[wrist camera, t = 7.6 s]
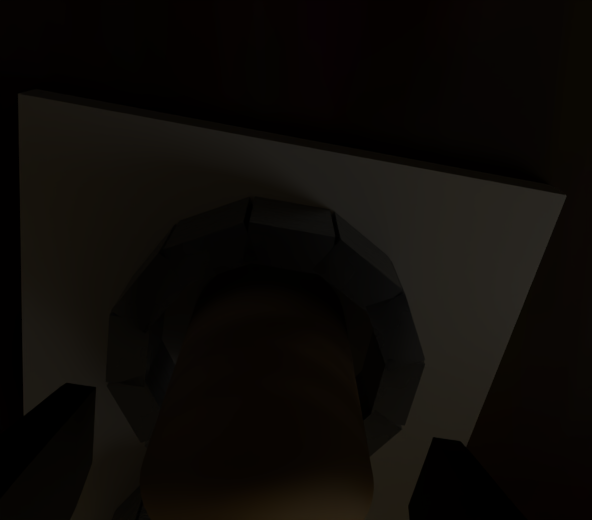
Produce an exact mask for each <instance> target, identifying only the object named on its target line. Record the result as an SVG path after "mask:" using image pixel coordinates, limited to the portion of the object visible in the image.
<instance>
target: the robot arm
mask: <svg viewBox="0 0 592 520" xmlns="http://www.w3.org/2000/svg"><path fill="white" fill-rule="evenodd" d="M95 400H96V387H92V386H85V385H79V384H72V383H65V384H64V385H62V386H60V387H59V388H58V389H57V390H55V391H54V392H53V393H52V394H50V395H49V396H48V397H47V398H46V399H44V400H43V401H42V402H41V403H39V404H38V405H37V406H36V407H34V408H33V409H32V410H31V411H29V412H28V413H27V414H26V415H24V416H23V417H22V418H21V419H19V420H18V421H17V422H15V423H14V424H13V425H12V426H10V427H9V428H8V429H6V430H5V431H4V432H2V433H1V434H0V520H70V519H71V517H72V515H73V513H74V511H75V508H76V506H77V503H78V500H79V498H80V495H81V493H82V490H83V487H84V485H85V482H86V479H87V476H88V474H89V471H90V468H91V465H92V461H93V441H94V421H95ZM408 510H409V520H527V519H526V518H525V517H524V515H523V514H522V513H521V512H520V511H519V510H518V509H517V507H516V506H515V505H514V504H513V503H512V502H511V500H510V499H509V498H508V497H507V496H506V494H505V493H504V492H503V491H502V490H501V488H500V487H499V486H498V485H497V484H496V482H495V481H494V480H493V479H492V478H491V476H490V475H489V474H488V473H487V472H486V470H485V469H484V468H483V467H482V466H481V464H480V463H479V462H478V461H477V460H476V458H475V457H474V456H473V455H472V454H471V453H470V451H469V450H468V449H467V448H466V447H465V446H464V444H463V443H462V442H461V441H457V440H450V439H443V438H436V437H433V439H432V442H431V445H430V447H429V450H428V453H427V456H426V458H425V461H424V464H423V467H422V469H421V472H420V475H419V477H418V480H417V483H416V486H415V488H414V491H413V494H412V497H411V499H410V502H409V505H408Z"/></svg>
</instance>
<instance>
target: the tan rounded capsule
mask: <svg viewBox="0 0 592 520" xmlns="http://www.w3.org/2000/svg"><path fill="white" fill-rule="evenodd" d="M373 491H374V481H373V473H372V467H371V462H370V456H369V450H368V445H367V439H366V434H365V428H364V423H363V417H362V411H361V406H360V400H359V395H358V389H357V384H356V378H355V373H354V367H353V361H352V356H351V350H350V345H349V339H348V334H347V328H346V322H345V317H344V312H343V308H342V305H341V302H340V300H339V298H338V296H337V294H336V293H335V291H334V290H333V288H332V287H331V286H330V284H329V283H328V282H327V281H326V280H325V279H324V278H322V277H321V276H320V275H319V274H313V273H307V272H301V271H295V270H289V269H283V268H277V267H271V266H265V265H259V264H253V263H250V264H247V265H244V266H241V267H238V268H235V269H232V270H229V271H226V272H223V273H220V274H217V275H216V276H215V277H214V278H213V279H211V280H210V282H209V283H208V284H207V285H206V286H205V287H204V289H203V291H202V292H201V294H200V295H199V298H198V300H197V302H196V305H195V308H194V311H193V314H192V317H191V320H190V323H189V326H188V329H187V332H186V335H185V338H184V341H183V343H182V346H181V349H180V352H179V355H178V358H177V361H176V364H175V367H174V370H173V373H172V376H171V379H170V382H169V385H168V388H167V391H166V394H165V397H164V400H163V403H162V406H161V409H160V412H159V415H158V418H157V421H156V424H155V427H154V430H153V433H152V436H151V439H150V442H149V444H148V447H147V450H146V453H145V456H144V459H143V463H142V467H141V471H140V493H141V497H142V501H143V505H144V507H145V509H146V511H147V514H148V516H149V517H150V519H151V520H364V519H365V517H366V515H367V514H368V512H369V509H370V506H371V502H372V498H373Z"/></svg>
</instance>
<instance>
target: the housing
mask: <svg viewBox="0 0 592 520" xmlns="http://www.w3.org/2000/svg"><path fill="white" fill-rule="evenodd" d="M18 121H19V179H20V237H21V295H22V353H23V411H24V415H26V414H27V413H28V412H29V411H31V410H32V409H33V408H34V407H36V406H37V405H38V404H39V403H41V402H42V401H43V400H44V399H46V398H47V397H48V396H49V395H50V394H52V393H53V392H54V391H55V390H57V389H58V388H59V387H60V386H62V385H64V384H65V383H72V384H79V385H85V386H92V387H96V400H95V421H94V441H93V461H92V465H91V468H90V471H89V474H88V476H87V479H86V482H85V485H84V487H83V490H82V493H81V495H80V498H79V500H78V503H77V506H76V508H75V511H74V513H73V515H72V517H71V519H70V520H151V519H150V517H149V516H148V514H147V511H146V509H145V507H144V505H143V501H142V497H141V493H140V471H141V467H142V463H143V459H144V456H145V453H146V450H147V447H148V444H149V442H150V439H151V436H152V433H153V430H154V427H155V424H156V421H157V418H158V415H159V412H160V409H161V406H162V403H163V400H164V397H165V394H166V391H167V388H168V385H169V382H170V379H171V376H172V373H173V370H174V367H175V364H176V361H177V358H178V355H179V352H180V349H181V346H182V343H183V341H184V338H185V335H186V332H187V329H188V326H189V323H190V320H191V317H192V314H193V311H194V308H195V305H196V302H197V300H198V298H199V295H200V294H201V292H202V291H203V289H204V287H205V286H206V285H207V284H208V283H209V282H210V280H211V279H213V278H214V277H215V276H216V275H217V274H220V273H223V272H226V271H229V270H232V269H235V268H238V267H241V266H244V265H247V264H250V263H253V264H259V265H265V266H271V267H277V268H283V269H289V270H295V271H301V272H307V273H313V274H319V275H320V276H321V277H322V278H324V279H325V280H326V281H327V282H328V283H329V284H330V286H331V287H332V288H333V290H334V291H335V293H336V294H337V296H338V298H339V300H340V302H341V305H342V308H343V312H344V317H345V322H346V328H347V334H348V339H349V345H350V350H351V356H352V361H353V367H354V373H355V378H356V384H357V389H358V395H359V400H360V406H361V411H362V417H363V423H364V428H365V434H366V439H367V445H368V450H369V456H370V462H371V467H372V473H373V481H374V491H373V498H372V502H371V506H370V509H369V512H368V514H367V515H366V517H365V519H364V520H409V510H408V505H409V502H410V499H411V497H412V494H413V491H414V488H415V486H416V483H417V480H418V477H419V475H420V472H421V469H422V467H423V464H424V461H425V458H426V456H427V453H428V450H429V447H430V445H431V442H432V439H433V437H436V438H443V439H450V440H457V441H461V442H462V443H463V444H464V446H465V447H466V446H467V443H468V441H469V438H470V436H471V433H472V431H473V428H474V426H475V423H476V421H477V418H478V416H479V413H480V411H481V408H482V406H483V403H484V401H485V398H486V396H487V393H488V391H489V388H490V386H491V383H492V381H493V378H494V376H495V373H496V371H497V368H498V366H499V363H500V361H501V358H502V356H503V353H504V351H505V348H506V346H507V343H508V341H509V338H510V336H511V333H512V331H513V328H514V326H515V323H516V321H517V318H518V316H519V313H520V311H521V308H522V306H523V303H524V301H525V298H526V296H527V293H528V291H529V288H530V286H531V283H532V281H533V278H534V276H535V273H536V271H537V268H538V266H539V263H540V261H541V258H542V256H543V253H544V251H545V248H546V246H547V243H548V241H549V238H550V236H551V233H552V231H553V228H554V226H555V223H556V221H557V218H558V216H559V213H560V211H561V208H562V206H563V203H564V201H565V198H566V196H567V195H565V194H564V193H562V192H561V191H559V190H558V189H556V188H554V187H553V186H551V185H549V184H543V183H538V182H533V181H527V180H522V179H517V178H511V177H506V176H500V175H495V174H490V173H484V172H479V171H474V170H468V169H463V168H458V167H452V166H447V165H441V164H436V163H431V162H425V161H420V160H415V159H409V158H404V157H399V156H393V155H388V154H382V153H377V152H372V151H366V150H361V149H356V148H350V147H345V146H340V145H334V144H329V143H324V142H318V141H313V140H307V139H302V138H297V137H291V136H286V135H281V134H275V133H270V132H265V131H259V130H254V129H248V128H243V127H238V126H232V125H227V124H222V123H216V122H211V121H206V120H200V119H195V118H189V117H184V116H179V115H173V114H168V113H163V112H157V111H152V110H147V109H141V108H136V107H130V106H125V105H120V104H114V103H109V102H104V101H98V100H93V99H88V98H82V97H77V96H72V95H66V94H61V93H55V92H50V91H45V90H39V89H34V90H30V91H26V92H22V93H18Z"/></svg>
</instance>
